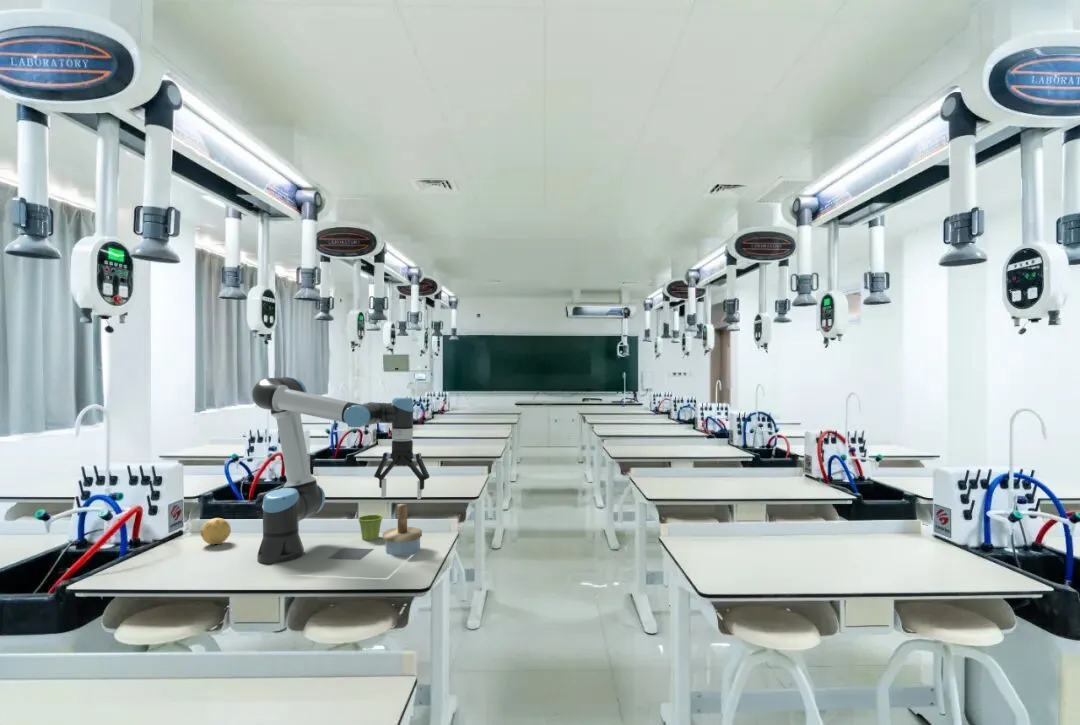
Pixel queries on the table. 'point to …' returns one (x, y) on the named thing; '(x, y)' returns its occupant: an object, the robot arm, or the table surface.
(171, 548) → the table surface
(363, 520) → the plant pot
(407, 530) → the lid
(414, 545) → the bowl
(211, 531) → the potato
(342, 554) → the mat
